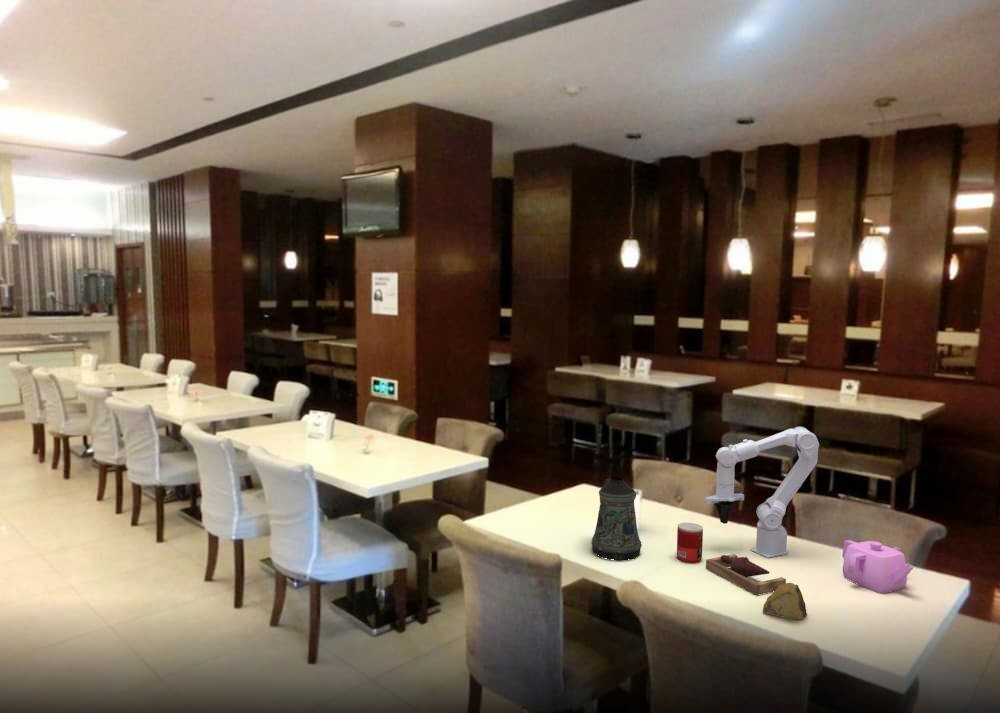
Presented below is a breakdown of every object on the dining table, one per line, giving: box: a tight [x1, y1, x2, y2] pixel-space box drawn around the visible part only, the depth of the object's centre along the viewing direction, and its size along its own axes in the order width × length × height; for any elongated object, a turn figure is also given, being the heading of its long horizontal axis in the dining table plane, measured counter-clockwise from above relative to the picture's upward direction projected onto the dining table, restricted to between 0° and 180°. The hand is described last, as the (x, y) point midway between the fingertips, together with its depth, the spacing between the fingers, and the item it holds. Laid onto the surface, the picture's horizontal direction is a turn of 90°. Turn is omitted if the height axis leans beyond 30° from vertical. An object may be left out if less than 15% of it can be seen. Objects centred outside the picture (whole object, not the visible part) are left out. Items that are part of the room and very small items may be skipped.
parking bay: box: [705, 553, 787, 596], centre depth 206 cm, size 12×21×3 cm, turn 24°
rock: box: [762, 582, 808, 620], centre depth 183 cm, size 11×9×10 cm
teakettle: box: [841, 539, 914, 594], centre depth 203 cm, size 17×17×12 cm
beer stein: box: [591, 475, 642, 561], centre depth 227 cm, size 16×19×25 cm
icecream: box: [720, 554, 770, 579], centre depth 206 cm, size 7×7×15 cm
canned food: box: [676, 522, 704, 564], centre depth 220 cm, size 8×8×11 cm
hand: (723, 522), depth 228 cm, fingers closed
